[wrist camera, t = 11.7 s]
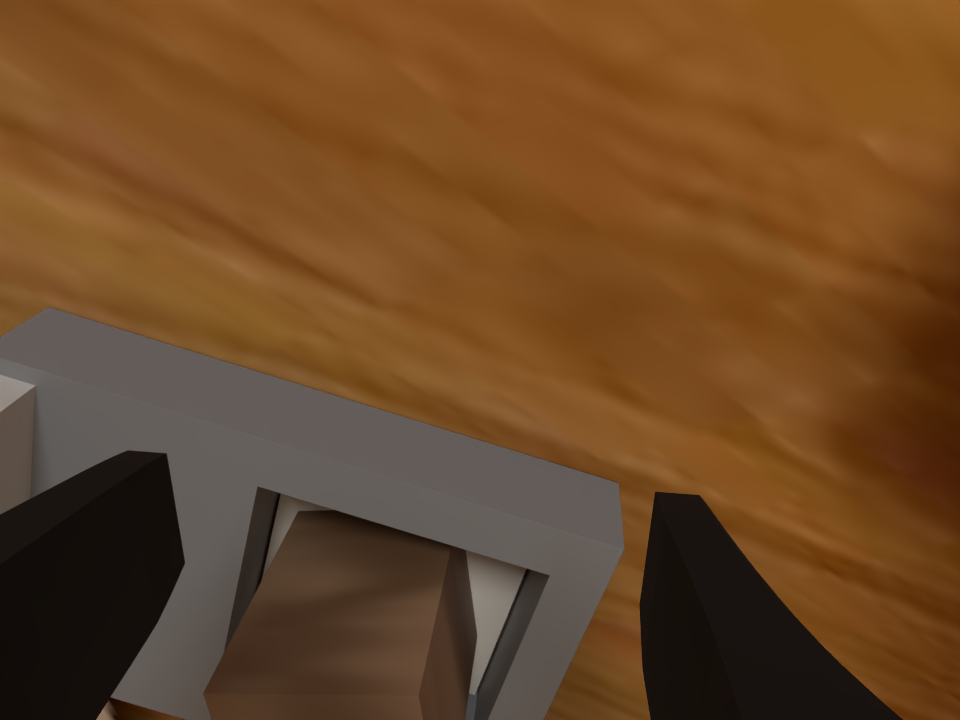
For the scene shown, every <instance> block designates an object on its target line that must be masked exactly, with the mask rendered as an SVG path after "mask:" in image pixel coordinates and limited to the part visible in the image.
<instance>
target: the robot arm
mask: <svg viewBox="0 0 960 720" xmlns="http://www.w3.org/2000/svg"><path fill="white" fill-rule="evenodd" d="M184 565H185V559H184V553H183V547H182V541H181V535H180V529H179V523H178V517H177V511H176V505H175V499H174V493H173V487H172V481H171V475H170V469H169V463H168V457H167V453H157V452H144V451H131V450H127V451H125V452H123V453H120V454H118V455H115V456H113V457H111V458H109V459H107V460H104V461H102V462H100V463H98V464H96V465H94V466H92V467H90V468H88V469H86V470H84V471H82V472H80V473H79V474H77V475H75V476H73V477H71V478H69V479H67V480H65V481H63V482H61V483H59V484H57V485H56V486H54V487H52V488H50V489H48V490H46V491H44V492H42V493H40V494H38V495H36V496H34V497H33V498H31V499H29V500H27V501H25V502H23V503H21V504H19V505H17V506H15V507H13V508H11V509H10V510H8V511H6V512H4V513H2V514H0V720H96V719H97V717H98V716H99V714H100V713H101V711H102V709H103V708H104V706H105V705H106V703H107V702H108V700H109V699H110V697H111V696H112V694H113V692H114V691H115V689H116V688H117V686H118V685H119V683H120V682H121V680H122V679H123V677H124V675H125V674H126V672H127V671H128V669H129V668H130V666H131V665H132V663H133V661H134V660H135V658H136V657H137V655H138V653H139V652H140V650H141V649H142V647H143V646H144V644H145V642H146V641H147V639H148V638H149V636H150V634H151V633H152V631H153V630H154V628H155V626H156V625H157V623H158V621H159V619H160V617H161V615H162V613H163V611H164V609H165V607H166V605H167V603H168V601H169V598H170V596H171V594H172V592H173V590H174V587H175V585H176V583H177V581H178V578H179V576H180V574H181V571H182V569H183V567H184ZM640 623H641V645H642V664H643V674H644V680H645V687H646V693H647V699H648V705H649V711H650V717H651V720H903V719H902V718H900V717H899V716H898V715H897V714H896V713H895V712H893V711H892V710H891V709H890V708H889V707H887V706H886V705H885V704H884V703H883V702H882V701H881V700H879V699H878V698H877V697H876V696H875V695H874V694H873V693H872V692H871V691H870V690H869V689H867V688H866V687H865V686H864V685H863V684H862V683H861V682H860V681H859V680H858V679H857V678H855V677H854V676H853V675H852V674H851V673H850V672H849V671H848V670H847V669H846V668H845V667H843V666H842V665H841V664H840V663H839V662H838V661H837V660H836V659H835V658H834V657H833V656H832V655H831V654H830V653H829V652H828V651H827V650H826V649H825V648H824V647H823V646H822V645H821V644H820V643H819V642H818V641H817V640H816V638H815V637H814V636H813V635H812V634H811V633H810V632H809V631H808V630H807V629H806V628H805V627H804V626H803V625H802V624H801V622H800V621H799V620H798V619H797V618H796V617H795V616H794V615H793V613H792V612H791V611H790V610H789V609H788V608H787V607H786V605H785V604H784V603H783V602H782V601H781V600H780V598H779V597H778V596H777V595H776V594H775V592H774V591H773V590H772V589H771V588H770V586H769V585H768V584H767V583H766V582H765V580H764V579H763V578H762V577H761V576H760V574H759V573H758V572H757V571H756V569H755V568H754V567H753V566H752V564H751V563H750V562H749V561H748V559H747V558H746V557H745V555H744V554H743V553H742V551H741V550H740V549H739V547H738V546H737V545H736V544H735V542H734V541H733V540H732V538H731V537H730V536H729V534H728V533H727V531H726V530H725V529H724V527H723V526H722V525H721V523H720V522H719V521H718V519H717V518H716V516H715V515H714V514H713V512H712V511H711V509H710V508H709V507H708V505H707V504H706V503H705V502H704V500H703V499H702V498H701V497H700V496H699V495H689V494H677V493H664V492H655V498H654V505H653V512H652V519H651V527H650V534H649V541H648V548H647V555H646V563H645V570H644V577H643V584H642V591H641V599H640Z"/></svg>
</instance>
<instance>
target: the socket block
mask: <svg viewBox="0 0 960 720" xmlns="http://www.w3.org/2000/svg"><path fill="white" fill-rule="evenodd" d="M127 450H131V451H144V452H157V453H167V457H168V463H169V469H170V475H171V481H172V487H173V493H174V499H175V505H176V511H177V517H178V523H179V529H180V535H181V541H182V547H183V553H184V559H185V565H184V567H183V569H182V571H181V574H180V576H179V578H178V581H177V583H176V585H175V587H174V590H173V592H172V594H171V596H170V598H169V601H168V603H167V605H166V607H165V609H164V611H163V613H162V615H161V617H160V619H159V621H158V623H157V625H156V626H155V628H154V630H153V631H152V633H151V634H150V636H149V638H148V639H147V641H146V642H145V644H144V646H143V647H142V649H141V650H140V652H139V653H138V655H137V657H136V658H135V660H134V661H133V663H132V665H131V666H130V668H129V669H128V671H127V672H126V674H125V675H124V677H123V679H122V680H121V682H120V683H119V685H118V686H117V688H116V689H115V691H114V692H113V694H112V696H111V698H114V699H118V700H121V701H125V702H128V703H131V704H135V705H138V706H141V707H145V708H148V709H152V710H155V711H158V712H162V713H165V714H169V715H172V716H175V717H179V718H182V719H185V720H212V719H211V716H210V713H209V710H208V707H207V704H206V701H205V698H204V695H203V692H204V691H205V689H206V687H207V685H208V683H209V681H210V679H211V677H212V675H213V673H214V671H215V669H216V668H217V666H218V664H219V662H220V660H221V658H222V656H223V654H224V652H225V650H226V648H227V646H228V645H229V643H230V641H231V639H232V637H233V635H234V633H235V631H236V629H237V627H238V625H239V623H240V622H241V620H242V618H243V616H244V614H245V612H246V610H247V608H248V606H249V604H250V602H251V600H252V599H253V597H254V595H255V593H256V591H257V589H258V587H259V585H260V580H261V576H262V571H263V566H264V562H265V557H266V553H267V548H268V543H269V539H270V534H271V530H272V525H273V521H274V516H275V511H276V507H277V502H278V498H279V493H281V495H280V499H279V504H278V508H277V513H276V518H275V522H274V527H273V531H272V536H271V540H270V545H269V549H268V554H267V559H266V563H265V568H264V572H263V577H264V576H265V574H266V572H267V570H268V568H269V566H270V564H271V562H272V560H273V558H274V556H275V554H276V553H277V551H278V549H279V547H280V545H281V543H282V541H283V539H284V537H285V535H286V533H287V531H288V530H289V528H290V526H291V524H292V522H293V520H294V518H295V516H296V514H297V512H298V511H318V510H337V511H340V512H343V513H347V514H350V515H353V516H356V517H360V518H363V519H366V520H370V521H373V522H376V523H379V524H383V525H386V526H389V527H393V528H396V529H399V530H402V531H406V532H409V533H412V534H415V535H419V536H422V537H425V538H429V539H432V540H435V541H438V542H442V543H445V544H448V545H452V546H455V547H458V548H461V549H465V550H466V556H467V563H468V570H469V578H470V585H471V592H472V600H473V607H474V614H475V622H476V629H477V642H476V649H475V656H474V663H473V669H472V676H471V683H470V689H469V696H468V703H467V709H466V716H465V720H544V718H545V716H546V713H547V711H548V709H549V707H550V705H551V703H552V701H553V699H554V697H555V694H556V692H557V690H558V688H559V686H560V684H561V682H562V680H563V678H564V675H565V673H566V671H567V669H568V667H569V665H570V663H571V661H572V659H573V656H574V654H575V652H576V650H577V648H578V646H579V644H580V642H581V640H582V637H583V635H584V633H585V631H586V629H587V627H588V625H589V623H590V621H591V619H592V616H593V614H594V612H595V610H596V608H597V606H598V604H599V602H600V600H601V597H602V595H603V593H604V591H605V589H606V587H607V585H608V583H609V581H610V578H611V576H612V574H613V572H614V570H615V568H616V566H617V564H618V562H619V559H620V557H621V555H622V553H623V551H624V539H623V527H622V516H621V504H620V493H619V483H616V482H613V481H610V480H606V479H603V478H600V477H597V476H593V475H590V474H587V473H584V472H581V471H577V470H574V469H571V468H568V467H564V466H561V465H558V464H555V463H551V462H548V461H545V460H542V459H538V458H535V457H532V456H529V455H526V454H522V453H519V452H516V451H513V450H509V449H506V448H503V447H500V446H496V445H493V444H490V443H487V442H483V441H480V440H477V439H474V438H470V437H467V436H464V435H461V434H458V433H454V432H451V431H448V430H445V429H441V428H438V427H435V426H432V425H428V424H425V423H422V422H419V421H415V420H412V419H409V418H406V417H403V416H399V415H396V414H393V413H390V412H386V411H383V410H380V409H377V408H373V407H370V406H367V405H364V404H360V403H357V402H354V401H351V400H348V399H344V398H341V397H338V396H335V395H331V394H328V393H325V392H322V391H318V390H315V389H312V388H309V387H305V386H302V385H299V384H296V383H293V382H289V381H286V380H283V379H280V378H276V377H273V376H270V375H267V374H263V373H260V372H257V371H254V370H250V369H247V368H244V367H241V366H237V365H234V364H231V363H228V362H225V361H221V360H218V359H215V358H212V357H208V356H205V355H202V354H199V353H195V352H192V351H189V350H186V349H182V348H179V347H176V346H173V345H170V344H166V343H163V342H160V341H157V340H153V339H150V338H147V337H144V336H140V335H137V334H134V333H131V332H127V331H124V330H121V329H118V328H115V327H111V326H108V325H105V324H102V323H98V322H95V321H92V320H89V319H85V318H82V317H79V316H76V315H72V314H69V313H66V312H63V311H60V310H56V309H53V308H50V307H48V308H46V309H45V310H43V311H42V312H40V313H38V314H37V315H35V316H34V317H32V318H30V319H29V320H27V321H25V322H24V323H22V324H21V325H19V326H17V327H16V328H14V329H13V330H11V331H9V332H8V333H6V334H5V335H3V336H1V337H0V514H2V513H4V512H6V511H8V510H10V509H11V508H13V507H15V506H17V505H19V504H21V503H23V502H25V501H27V500H29V499H31V498H33V497H34V496H36V495H38V494H40V493H42V492H44V491H46V490H48V489H50V488H52V487H54V486H56V485H57V484H59V483H61V482H63V481H65V480H67V479H69V478H71V477H73V476H75V475H77V474H79V473H80V472H82V471H84V470H86V469H88V468H90V467H92V466H94V465H96V464H98V463H100V462H102V461H104V460H107V459H109V458H111V457H113V456H115V455H118V454H120V453H123V452H125V451H127ZM526 569H528V570H527V572H526V575H525V577H524V580H523V582H522V584H521V581H522V579H523V576H524V574H525V571H526ZM263 577H262V579H263ZM520 584H521V587H520V589H519V592H518V594H517V597H516V599H515V601H514V598H515V596H516V593H517V591H518V588H519V586H520ZM513 601H514V604H513V606H512V603H513ZM511 606H512V609H511V611H510V614H509V616H508V619H507V621H506V623H505V620H506V618H507V615H508V613H509V610H510V608H511ZM504 623H505V626H504V628H503V631H502V633H501V636H500V638H499V640H498V637H499V635H500V632H501V630H502V627H503V625H504ZM497 640H498V643H497V645H496V642H497ZM495 645H496V648H495V650H494V653H493V655H492V657H491V654H492V652H493V649H494V647H495ZM490 657H491V660H490V662H489V659H490ZM488 662H489V665H488V667H487V664H488ZM486 667H487V670H486V672H485V675H484V677H483V679H482V676H483V674H484V671H485V669H486ZM481 679H482V682H481V684H480V681H481ZM479 684H480V687H479V689H478V691H477V688H478V686H479Z"/></svg>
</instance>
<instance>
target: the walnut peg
mask: <svg viewBox="0 0 960 720" xmlns="http://www.w3.org/2000/svg"><path fill="white" fill-rule="evenodd" d="M476 642H477V629H476V622H475V614H474V607H473V600H472V592H471V585H470V578H469V570H468V563H467V556H466V550H465V549H461V548H458V547H455V546H452V545H448V544H445V543H442V542H438V541H435V540H432V539H429V538H425V537H422V536H419V535H415V534H412V533H409V532H406V531H402V530H399V529H396V528H393V527H389V526H386V525H383V524H379V523H376V522H373V521H370V520H366V519H363V518H360V517H356V516H353V515H350V514H347V513H343V512H340V511H337V510H318V511H298V512H297V514H296V516H295V518H294V520H293V522H292V524H291V526H290V528H289V530H288V531H287V533H286V535H285V537H284V539H283V541H282V543H281V545H280V547H279V549H278V551H277V553H276V554H275V556H274V558H273V560H272V562H271V564H270V566H269V568H268V570H267V572H266V574H265V576H264V577H263V579H262V581H261V583H260V585H259V587H258V589H257V591H256V593H255V595H254V597H253V599H252V600H251V602H250V604H249V606H248V608H247V610H246V612H245V614H244V616H243V618H242V620H241V622H240V623H239V625H238V627H237V629H236V631H235V633H234V635H233V637H232V639H231V641H230V643H229V645H228V646H227V648H226V650H225V652H224V654H223V656H222V658H221V660H220V662H219V664H218V666H217V668H216V669H215V671H214V673H213V675H212V677H211V679H210V681H209V683H208V685H207V687H206V689H205V691H204V692H203V695H204V698H205V701H206V704H207V707H208V710H209V713H210V716H211V719H212V720H465V716H466V709H467V703H468V696H469V689H470V683H471V676H472V669H473V663H474V656H475V649H476Z"/></svg>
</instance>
